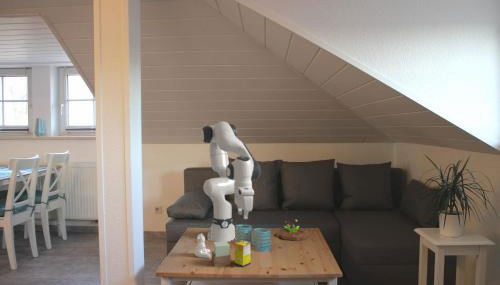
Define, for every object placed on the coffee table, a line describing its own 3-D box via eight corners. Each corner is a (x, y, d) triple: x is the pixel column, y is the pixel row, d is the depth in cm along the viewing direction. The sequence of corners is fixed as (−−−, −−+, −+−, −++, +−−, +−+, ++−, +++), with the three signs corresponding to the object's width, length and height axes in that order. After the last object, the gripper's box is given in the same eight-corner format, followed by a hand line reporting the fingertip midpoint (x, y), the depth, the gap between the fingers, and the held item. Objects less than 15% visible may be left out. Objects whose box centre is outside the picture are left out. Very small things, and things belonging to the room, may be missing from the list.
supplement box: (241, 260, 185) (242, 240, 185) (250, 263, 181) (251, 242, 181) (234, 264, 181) (234, 242, 180) (243, 267, 177) (243, 245, 176)
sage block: (213, 251, 184) (213, 242, 184) (226, 250, 186) (226, 241, 186) (215, 256, 177) (216, 246, 177) (229, 255, 180) (229, 245, 179)
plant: (300, 242, 217) (300, 224, 216) (271, 237, 227) (271, 219, 226) (312, 234, 234) (312, 217, 233) (285, 229, 244) (285, 213, 243)
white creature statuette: (210, 258, 188) (210, 236, 187) (193, 259, 187) (194, 236, 186) (210, 252, 197) (210, 230, 197) (194, 253, 196) (194, 231, 196)
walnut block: (211, 261, 185) (211, 251, 184) (226, 259, 187) (226, 250, 187) (214, 267, 177) (214, 257, 177) (230, 265, 179) (230, 255, 179)
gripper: (231, 186, 189) (231, 212, 189) (242, 192, 169) (242, 221, 170) (243, 185, 191) (243, 211, 191) (255, 192, 171) (255, 221, 172)
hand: (242, 216), depth 180 cm, fingers open, 8 cm apart
